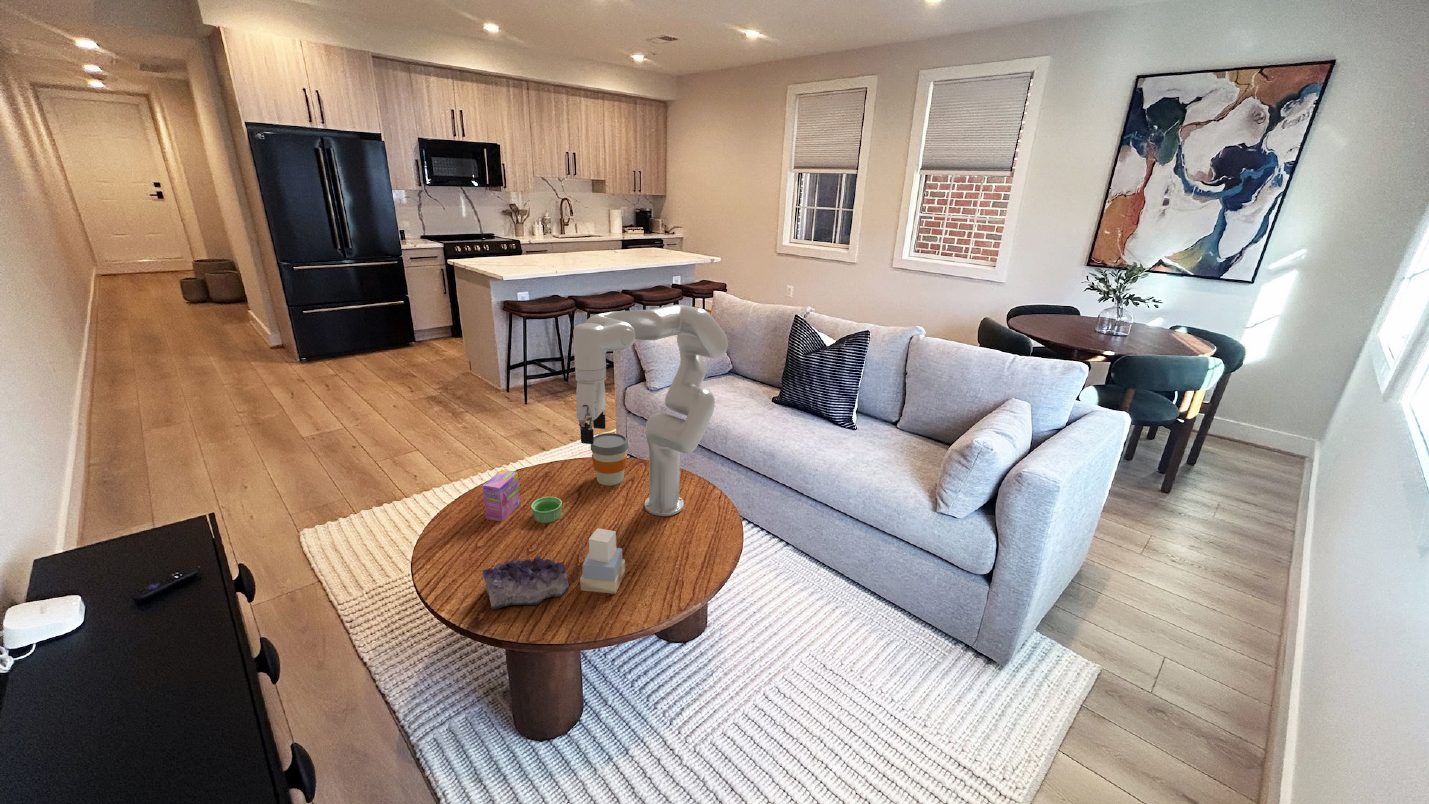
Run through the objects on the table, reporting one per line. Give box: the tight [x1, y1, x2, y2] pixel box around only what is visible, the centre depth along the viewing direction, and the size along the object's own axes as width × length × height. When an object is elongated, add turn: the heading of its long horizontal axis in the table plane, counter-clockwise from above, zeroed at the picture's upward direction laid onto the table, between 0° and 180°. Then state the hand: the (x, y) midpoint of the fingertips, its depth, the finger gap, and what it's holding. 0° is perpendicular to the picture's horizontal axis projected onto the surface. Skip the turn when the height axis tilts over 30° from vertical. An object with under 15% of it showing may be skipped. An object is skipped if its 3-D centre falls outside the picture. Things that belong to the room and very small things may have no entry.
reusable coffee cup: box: [590, 432, 629, 486], centre depth 190 cm, size 13×13×15 cm
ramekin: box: [530, 496, 563, 524], centre depth 169 cm, size 9×9×4 cm
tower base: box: [579, 558, 626, 595], centre depth 142 cm, size 9×9×4 cm
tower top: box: [581, 547, 623, 581], centre depth 141 cm, size 8×8×4 cm
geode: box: [481, 555, 570, 610], centre depth 136 cm, size 20×12×10 cm, turn 106°
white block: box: [588, 527, 617, 563], centre depth 139 cm, size 5×5×6 cm
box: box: [482, 469, 521, 522], centre depth 169 cm, size 10×6×12 cm, turn 168°
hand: (593, 435), depth 144 cm, fingers open, 9 cm apart
